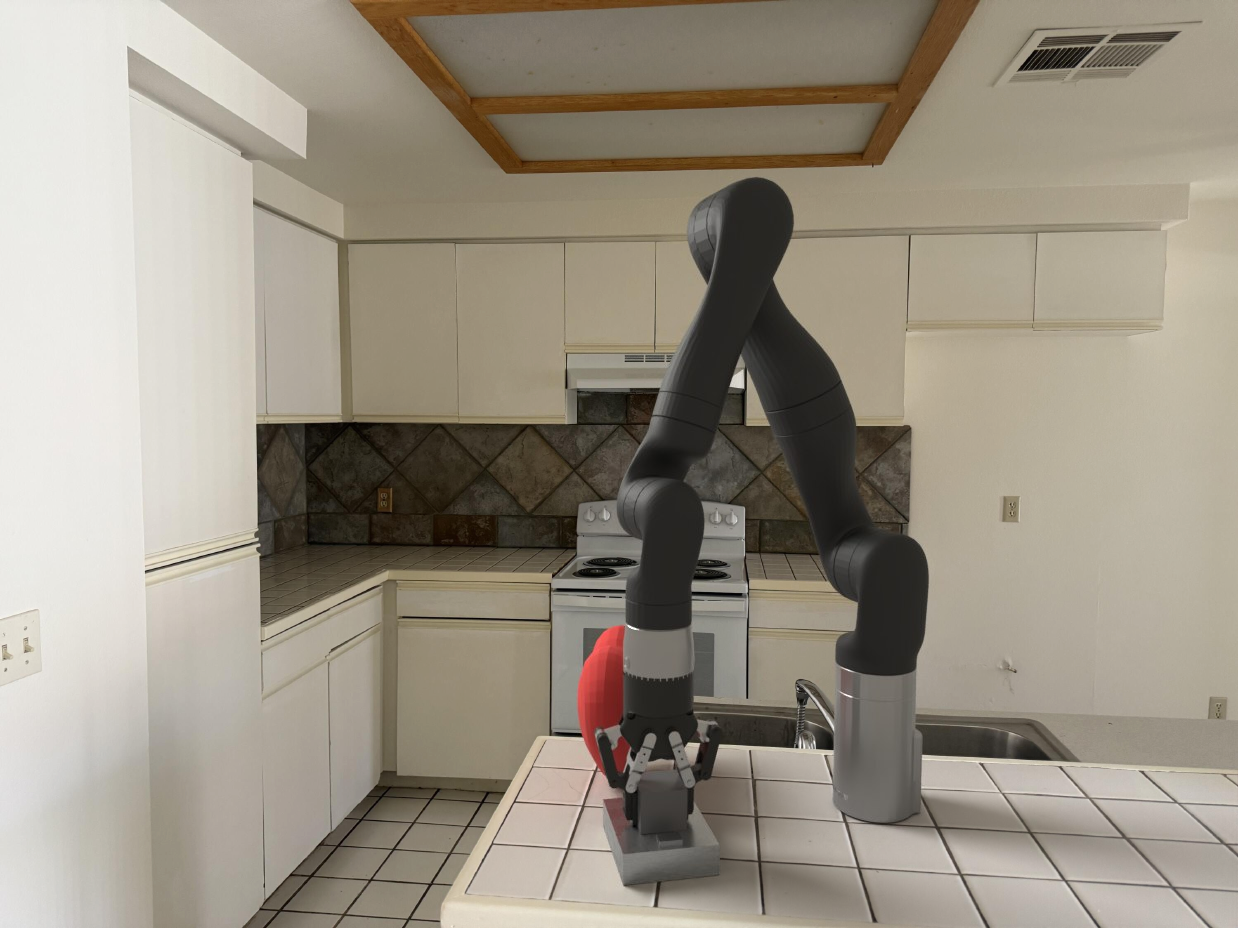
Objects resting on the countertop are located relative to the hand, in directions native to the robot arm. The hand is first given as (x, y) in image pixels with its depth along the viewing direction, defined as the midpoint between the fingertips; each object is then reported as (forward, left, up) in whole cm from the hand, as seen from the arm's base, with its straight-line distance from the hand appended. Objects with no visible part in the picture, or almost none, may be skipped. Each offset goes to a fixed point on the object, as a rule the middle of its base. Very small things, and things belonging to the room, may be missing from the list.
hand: (658, 818), depth 91 cm
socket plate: (0, 0, -3) cm, 3 cm away
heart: (+1, -17, -4) cm, 18 cm away
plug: (0, 0, -3) cm, 3 cm away
